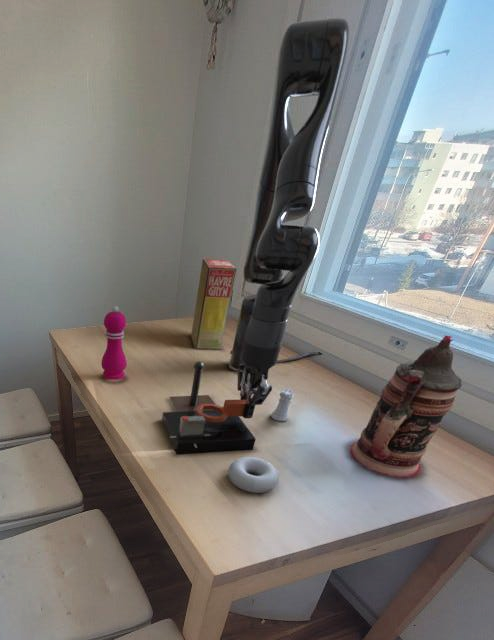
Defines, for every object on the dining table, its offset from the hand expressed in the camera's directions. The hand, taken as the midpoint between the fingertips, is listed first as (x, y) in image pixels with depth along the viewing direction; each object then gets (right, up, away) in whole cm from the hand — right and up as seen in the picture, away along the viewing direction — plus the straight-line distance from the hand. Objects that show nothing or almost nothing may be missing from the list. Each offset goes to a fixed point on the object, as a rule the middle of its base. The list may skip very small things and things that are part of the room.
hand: (244, 414), depth 97 cm
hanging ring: (-5, 0, -1) cm, 5 cm away
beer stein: (+29, -11, -4) cm, 31 cm away
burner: (-8, -2, 0) cm, 8 cm away
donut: (-2, -16, -12) cm, 20 cm away
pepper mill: (-31, +15, +24) cm, 42 cm away
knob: (-14, -6, -5) cm, 16 cm away
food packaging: (+1, +36, +50) cm, 61 cm away
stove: (-9, -6, 0) cm, 11 cm away
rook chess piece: (+11, 0, +8) cm, 14 cm away
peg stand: (-10, +4, +12) cm, 16 cm away
